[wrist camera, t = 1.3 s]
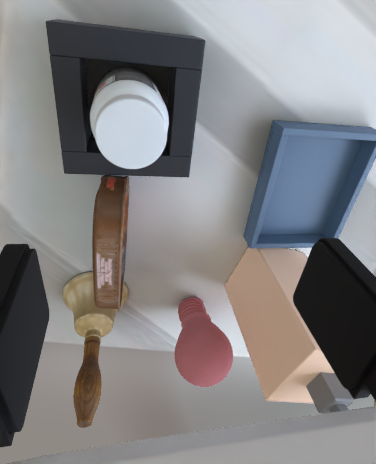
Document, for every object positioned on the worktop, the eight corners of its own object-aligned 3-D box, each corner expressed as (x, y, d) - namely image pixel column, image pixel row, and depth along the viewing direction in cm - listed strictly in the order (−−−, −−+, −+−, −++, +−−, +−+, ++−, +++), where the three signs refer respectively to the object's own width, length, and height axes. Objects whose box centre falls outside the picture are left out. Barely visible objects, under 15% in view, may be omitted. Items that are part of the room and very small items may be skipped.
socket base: (55, 19, 24) (45, 20, 21) (195, 36, 26) (205, 40, 23) (70, 156, 30) (64, 173, 27) (182, 160, 32) (188, 177, 29)
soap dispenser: (252, 239, 40) (354, 420, 22) (304, 252, 43) (430, 422, 25) (211, 305, 46) (264, 489, 28) (258, 313, 49) (334, 484, 31)
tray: (272, 120, 31) (283, 127, 29) (370, 127, 34) (387, 134, 32) (243, 236, 39) (249, 248, 37) (323, 235, 42) (334, 247, 40)
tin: (124, 273, 40) (124, 327, 33) (98, 273, 39) (93, 328, 32) (130, 161, 31) (132, 203, 25) (98, 159, 31) (90, 201, 24)
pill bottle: (82, 102, 28) (65, 140, 20) (122, 48, 26) (123, 66, 18) (133, 144, 30) (137, 191, 22) (172, 98, 29) (192, 132, 21)
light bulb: (222, 305, 47) (248, 382, 37) (181, 325, 48) (196, 405, 38) (203, 277, 42) (226, 355, 33) (157, 299, 44) (167, 381, 34)
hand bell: (138, 301, 43) (145, 425, 30) (84, 322, 44) (68, 452, 31) (109, 261, 38) (102, 388, 25) (49, 285, 39) (12, 421, 26)
